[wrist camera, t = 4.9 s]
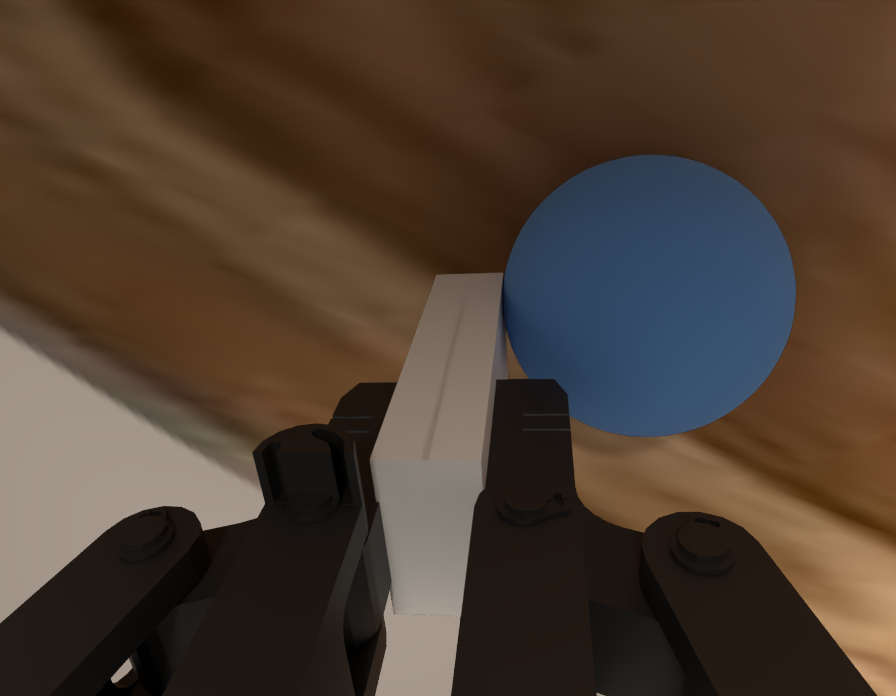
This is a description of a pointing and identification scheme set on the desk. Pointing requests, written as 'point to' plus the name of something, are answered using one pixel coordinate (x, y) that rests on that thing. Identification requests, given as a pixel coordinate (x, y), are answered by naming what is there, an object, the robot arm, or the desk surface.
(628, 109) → the desk surface
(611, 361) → the ball
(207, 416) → the desk surface
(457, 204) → the desk surface
